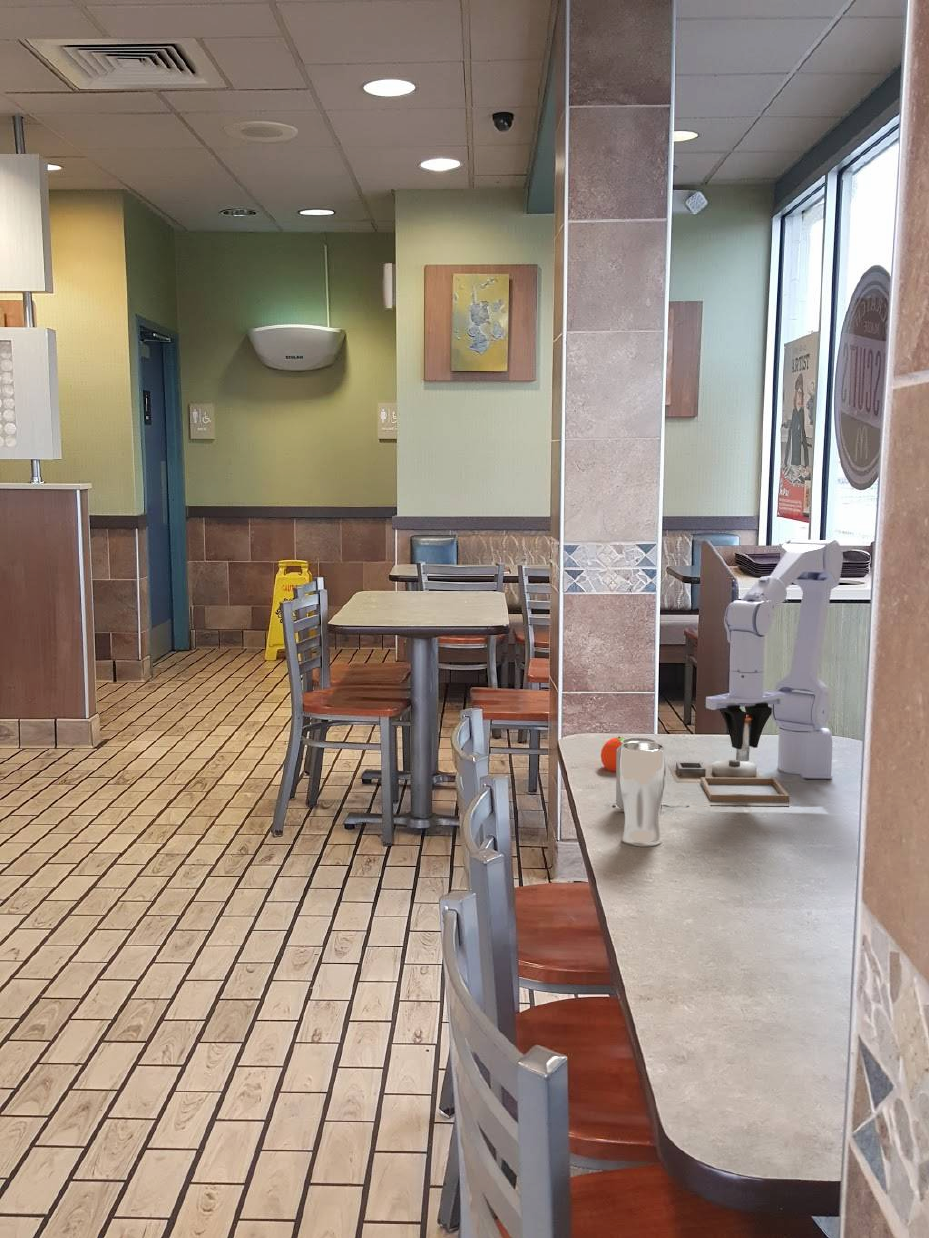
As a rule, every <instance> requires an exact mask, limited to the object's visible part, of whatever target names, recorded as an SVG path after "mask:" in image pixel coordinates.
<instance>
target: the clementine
mask: <svg viewBox="0 0 929 1238" xmlns="http://www.w3.org/2000/svg"><path fill="white" fill-rule="evenodd" d="M623 739H626V737H625V738H624V737H620V736H618V737H612V738H610V739H609V740H608V741H606V742H605V743H604V744H603V746H602V748H601V752H600V760H601V762H602V765H603V766H604V768H605V770H608V771H611V772H615V773H616V762H617V748H618V747H619V746H620V745H621V740H623Z"/></svg>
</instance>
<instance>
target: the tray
mask: <svg viewBox="0 0 929 1238" xmlns="http://www.w3.org/2000/svg"><path fill="white" fill-rule="evenodd" d="M700 785H701V786H702V788H703V789H704V792H705V794H706V796H707V797H708V799H709V801H710V802H766V803H767V802H771V803H772V802H776V803H777V802H780V803H781V802H783V803H784V802H785V803H786V802H788V803H789V802H790V794H789V793H788V792H787V790H786V789H785V788H784V787H783V786H782V784H781V783H780V782H779V781H778V779H777V778H776V777H762V778H720V777H701V782H700ZM710 785H769V786H771V785H772V786H773V787H774V789H775V790H776V791H777V792H778V794H767V793H766V794H765V793H764V794H763V793H762V794H757V793H754V794H753V793H751V794H749V793H746V794H745V793H744V794H743V793H741V794H740V793H737V794H736V793H714V792H713V790H712V789H711V786H710ZM709 806H710V807H725V808H726V807H731V808H732V807H734V808H735V807H737V808H742V807H744V808H752V807H753V808H789V807H790V806H789V805H755V804H754V805H751V804H750V805H744V804H743V805H739V804H738V805H737V804H733V805H731V804H728V805H727V804H724V805H723V804H709Z"/></svg>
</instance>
